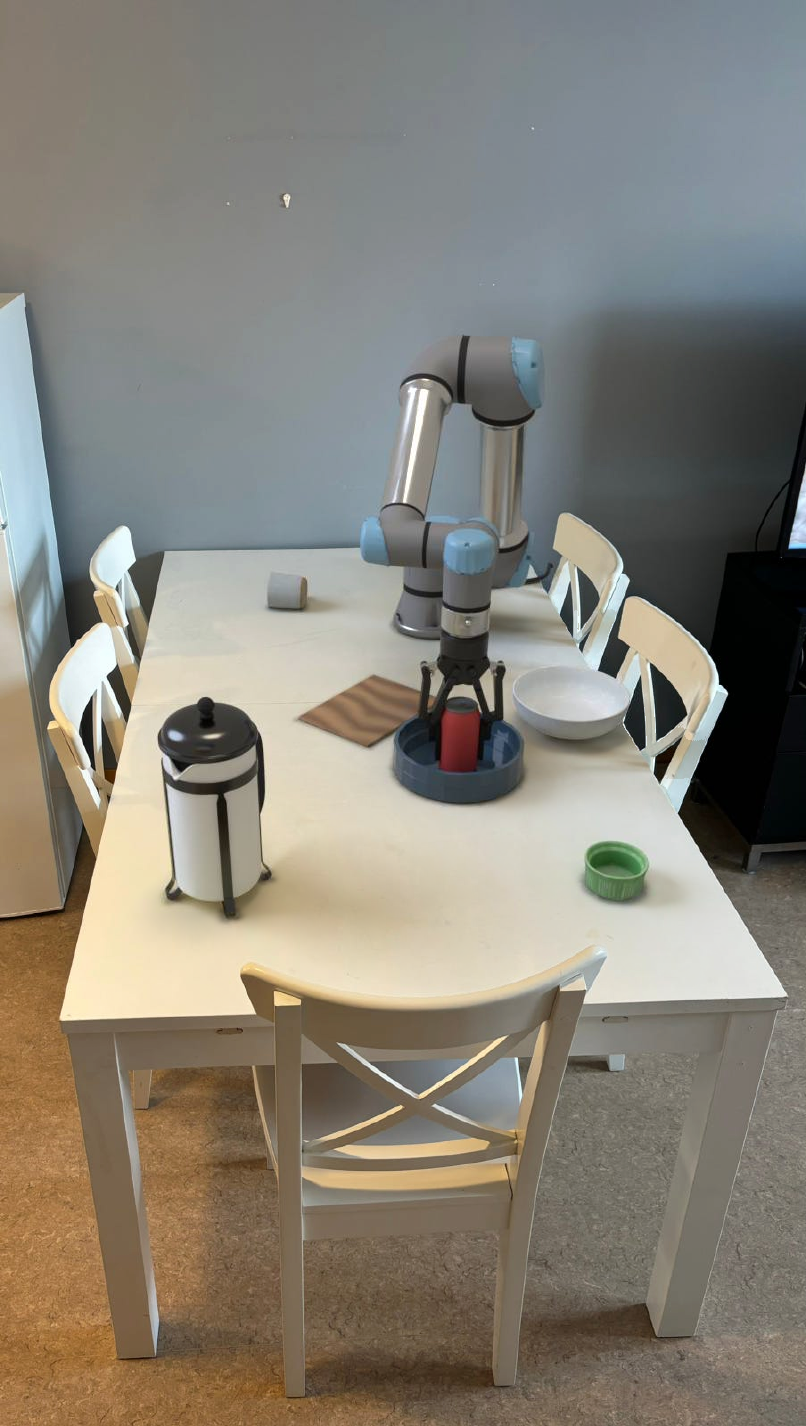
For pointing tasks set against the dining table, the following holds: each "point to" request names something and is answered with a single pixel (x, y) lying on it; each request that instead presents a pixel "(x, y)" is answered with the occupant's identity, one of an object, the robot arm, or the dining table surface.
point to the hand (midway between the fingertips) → (458, 756)
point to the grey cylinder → (286, 591)
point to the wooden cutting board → (367, 710)
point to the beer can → (459, 735)
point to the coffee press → (213, 801)
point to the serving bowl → (570, 701)
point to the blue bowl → (482, 784)
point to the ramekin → (615, 869)
